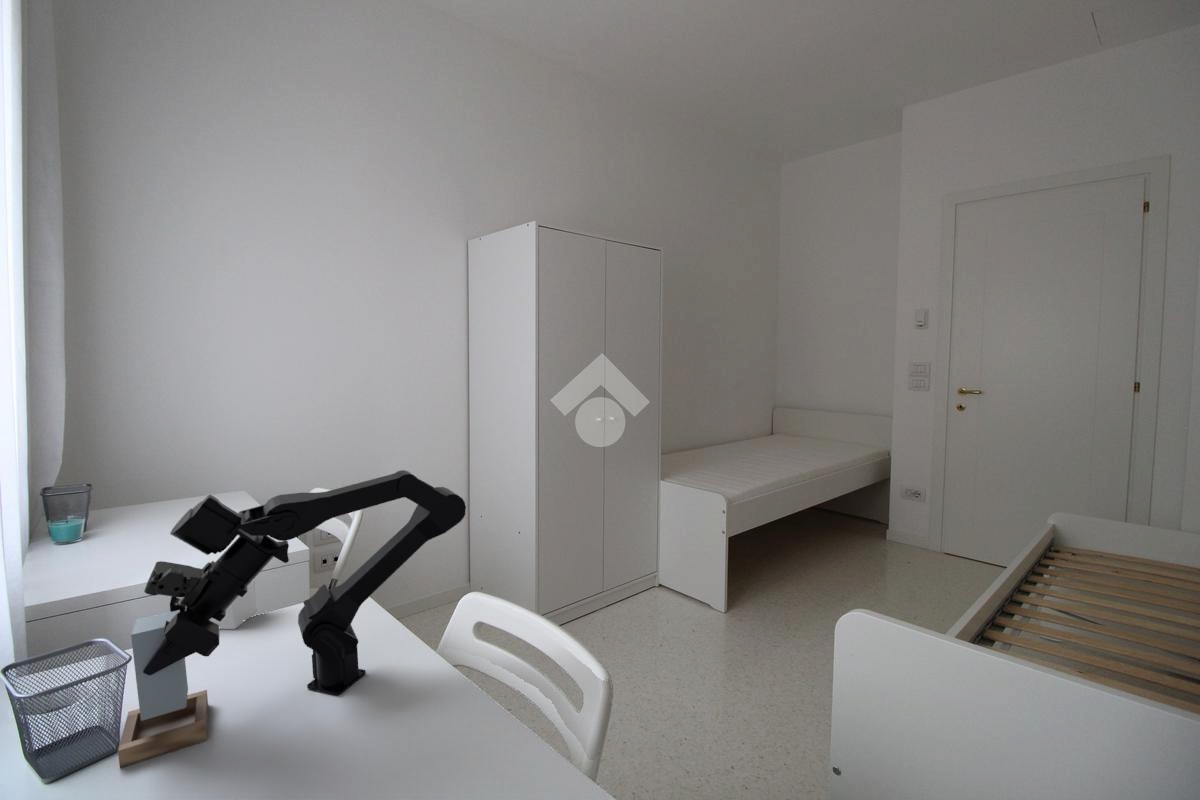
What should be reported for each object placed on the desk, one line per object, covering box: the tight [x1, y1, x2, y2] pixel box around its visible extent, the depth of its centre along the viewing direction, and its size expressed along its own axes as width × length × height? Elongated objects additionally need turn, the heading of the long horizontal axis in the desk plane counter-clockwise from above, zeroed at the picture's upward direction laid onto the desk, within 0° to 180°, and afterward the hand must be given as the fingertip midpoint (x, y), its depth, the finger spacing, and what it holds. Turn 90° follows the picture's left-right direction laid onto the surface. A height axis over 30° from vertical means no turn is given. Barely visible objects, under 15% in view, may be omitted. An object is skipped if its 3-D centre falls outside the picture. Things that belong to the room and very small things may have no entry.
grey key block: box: [130, 610, 189, 721], centre depth 80 cm, size 5×5×12 cm
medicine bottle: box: [209, 579, 258, 630], centre depth 113 cm, size 7×7×12 cm
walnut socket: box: [117, 689, 209, 769], centre depth 81 cm, size 9×9×2 cm
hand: (148, 664), depth 79 cm, fingers closed on grey key block, 5 cm apart
